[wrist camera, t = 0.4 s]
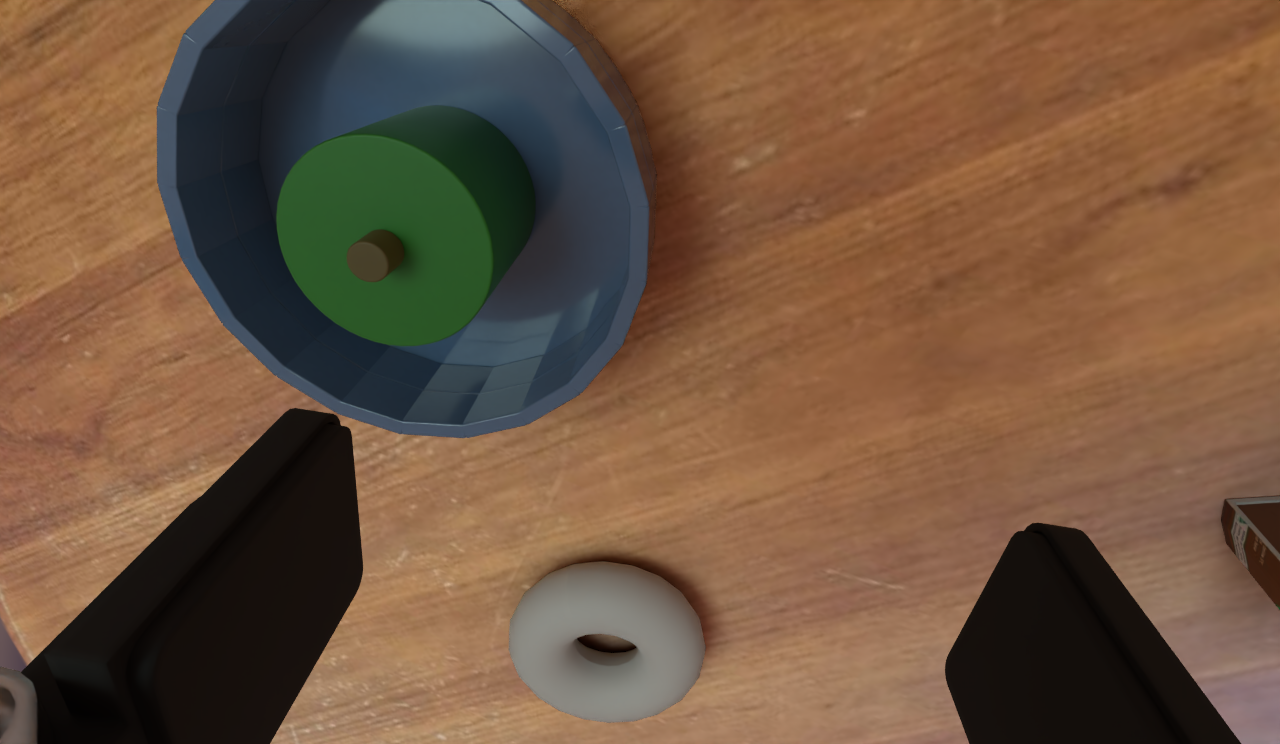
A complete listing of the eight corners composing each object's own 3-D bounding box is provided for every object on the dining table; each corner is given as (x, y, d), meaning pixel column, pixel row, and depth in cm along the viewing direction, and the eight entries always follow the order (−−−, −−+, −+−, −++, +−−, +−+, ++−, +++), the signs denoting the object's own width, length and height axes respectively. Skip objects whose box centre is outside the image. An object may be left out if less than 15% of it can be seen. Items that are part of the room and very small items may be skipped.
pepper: (350, 101, 23) (223, 136, 17) (531, 108, 23) (470, 146, 17) (379, 275, 27) (280, 359, 20) (539, 283, 26) (490, 371, 20)
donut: (598, 699, 39) (743, 637, 35) (589, 758, 36) (746, 696, 32) (478, 596, 36) (625, 515, 32) (457, 651, 33) (616, 569, 29)
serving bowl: (201, -50, 22) (78, -64, 18) (665, -37, 21) (658, -48, 17) (301, 361, 29) (231, 424, 25) (649, 382, 29) (641, 450, 24)
